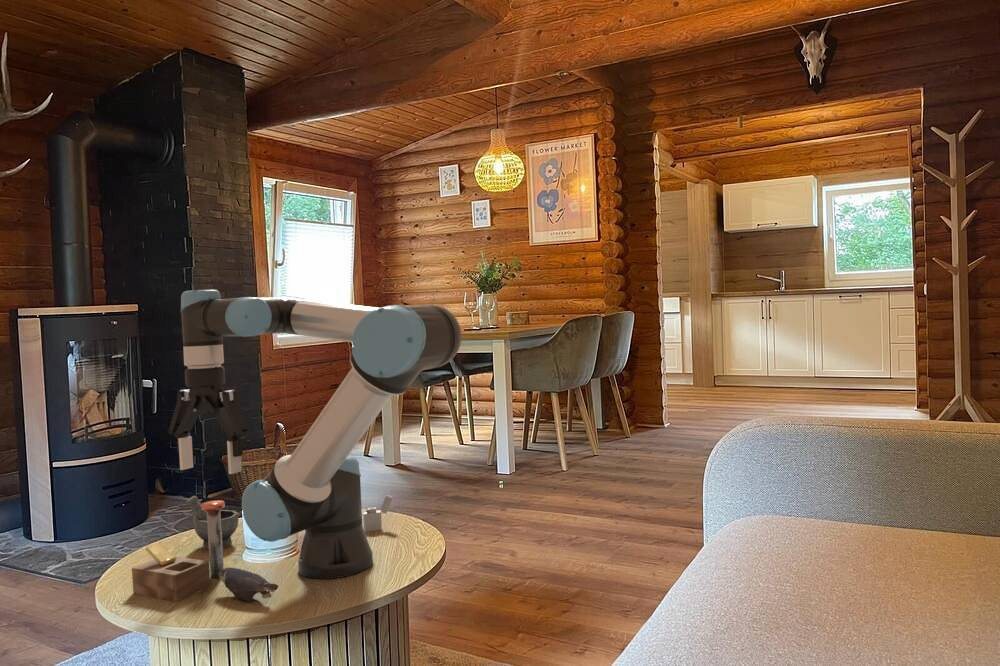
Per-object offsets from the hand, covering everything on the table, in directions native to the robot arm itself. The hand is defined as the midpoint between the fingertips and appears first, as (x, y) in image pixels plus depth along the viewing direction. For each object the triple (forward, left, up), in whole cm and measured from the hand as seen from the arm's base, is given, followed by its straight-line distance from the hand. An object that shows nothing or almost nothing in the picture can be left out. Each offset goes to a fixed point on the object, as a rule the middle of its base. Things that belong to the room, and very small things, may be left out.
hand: (210, 470), depth 155 cm
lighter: (-13, -38, -22) cm, 46 cm away
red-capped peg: (0, 0, -22) cm, 22 cm away
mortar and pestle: (+17, -15, -22) cm, 31 cm away
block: (+2, +9, -22) cm, 24 cm away
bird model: (-15, +7, -22) cm, 28 cm away
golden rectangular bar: (+5, +9, -15) cm, 18 cm away
